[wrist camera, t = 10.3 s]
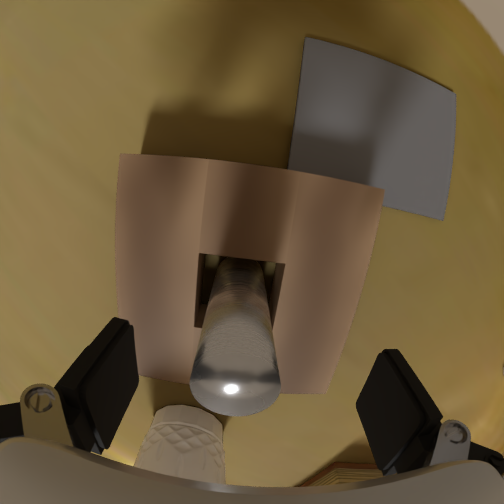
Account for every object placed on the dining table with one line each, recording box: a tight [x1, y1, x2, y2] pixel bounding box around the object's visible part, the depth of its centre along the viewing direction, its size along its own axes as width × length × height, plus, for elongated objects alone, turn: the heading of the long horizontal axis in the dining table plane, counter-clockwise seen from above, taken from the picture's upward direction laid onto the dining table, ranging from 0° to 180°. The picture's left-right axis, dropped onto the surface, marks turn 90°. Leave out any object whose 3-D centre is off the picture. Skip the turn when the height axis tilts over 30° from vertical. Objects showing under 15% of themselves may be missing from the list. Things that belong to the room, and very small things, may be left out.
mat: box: [287, 37, 456, 221], centre depth 15 cm, size 12×10×1 cm
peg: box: [190, 257, 281, 416], centre depth 13 cm, size 3×3×10 cm
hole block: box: [115, 154, 385, 394], centre depth 17 cm, size 14×14×3 cm
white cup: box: [133, 405, 226, 484], centre depth 18 cm, size 8×8×10 cm
